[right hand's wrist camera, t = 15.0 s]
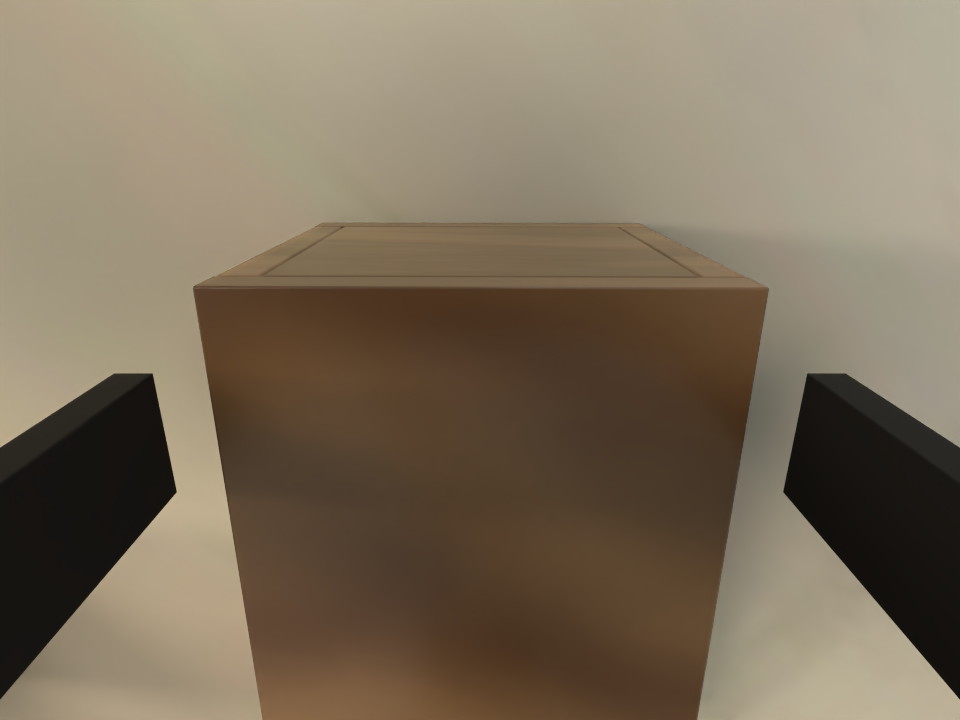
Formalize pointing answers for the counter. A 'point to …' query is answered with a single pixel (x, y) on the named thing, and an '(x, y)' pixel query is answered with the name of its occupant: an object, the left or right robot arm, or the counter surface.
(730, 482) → the cabinet
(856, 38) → the counter surface
